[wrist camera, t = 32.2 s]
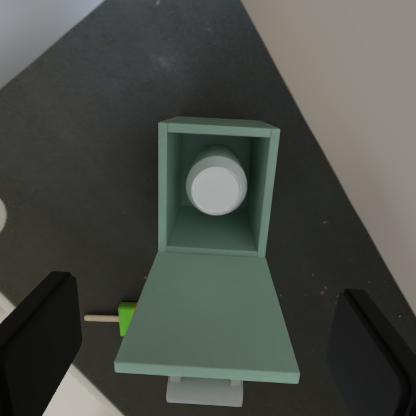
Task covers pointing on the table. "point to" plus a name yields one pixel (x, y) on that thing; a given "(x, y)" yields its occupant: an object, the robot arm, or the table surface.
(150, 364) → the lid
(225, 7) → the table surface
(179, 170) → the pale green hollow box
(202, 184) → the beverage can
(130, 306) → the popsicle
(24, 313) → the robot arm
